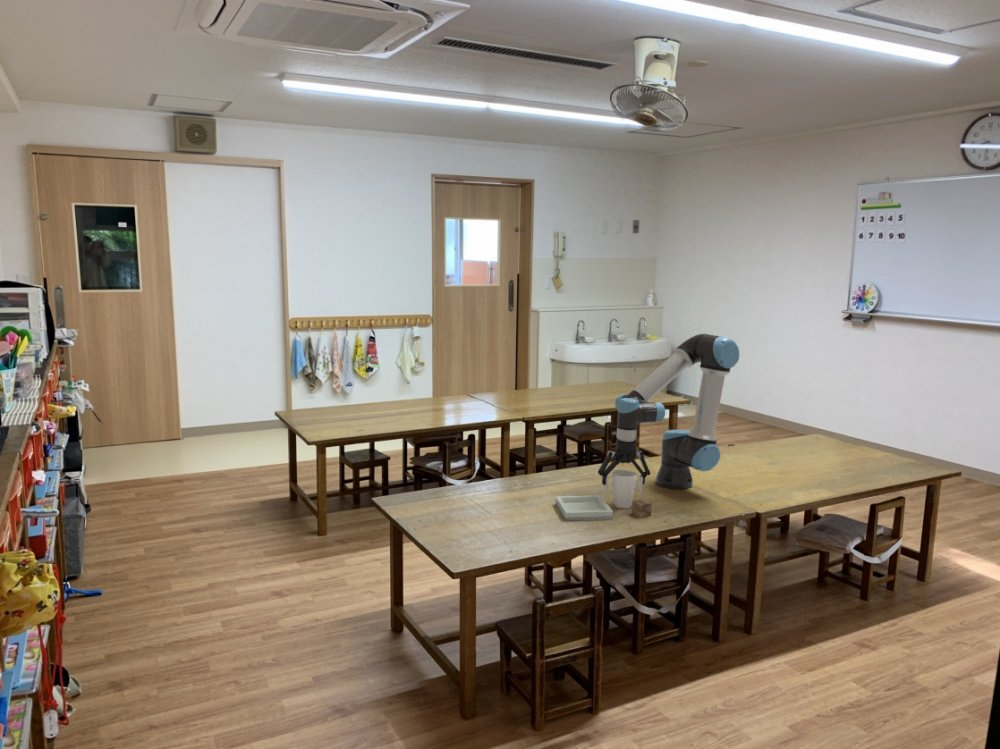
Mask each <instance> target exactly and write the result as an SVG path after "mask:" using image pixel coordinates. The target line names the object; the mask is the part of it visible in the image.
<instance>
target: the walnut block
mask: <svg viewBox="0 0 1000 749" xmlns="http://www.w3.org/2000/svg"><path fill="white" fill-rule="evenodd" d="M652 504H653V503H652V502H650V501H648V500H647V499H644V498H641V499H636V500H632V504H631V514H632V515H633V516H634V515H635V516H636V517H638V518H640V519H641V518H646V517H647V518H648V517H650V516H652Z"/></svg>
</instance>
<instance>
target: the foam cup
mask: <svg viewBox="0 0 1000 749" xmlns="http://www.w3.org/2000/svg"><path fill="white" fill-rule="evenodd" d="M611 479H612V491H613V503H614V506H615V507H616V508H619V509H630V508H632V501H633V498H634V494H635V488H636V482H637V480H638V473H637V472H636V471H633V470H631V469H630V470H629V469H622V468H621V469H616V470H615V469H614V470H612V471H611Z"/></svg>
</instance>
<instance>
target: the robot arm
mask: <svg viewBox="0 0 1000 749" xmlns="http://www.w3.org/2000/svg"><path fill="white" fill-rule="evenodd" d="M739 359H740V348H739V345H737V343H736V341H735V340H733V339H732V338H729V337H726V336H721V335H720V336H719V335H713V334H708V333H700V334H699V333H698V334H696V335H693V336H691V337H689V338H688V339H686V340H684V341H683V342H682V343H680V345H678V346H677V347H675V349H674V350H673V353H672V354H671V355H670V357H668V358H667V359H666V360H665V361H664V362H663V363H662V364H661V365H659V366H658V367H657V368H656V369H655V370H654V371H653V372H651V373H650V375H648V376H647V377H646V378H645V379H644V380H642V381H641V382H640V383H639V384H638V385H637V386H636V387H634V389H632V390H631V391H630V392H629V393H627V394H626V393H625V394H624V393H623V394H620V395H618V396H617V397H616V399H615V402H614V403H615V405H614V406H615V409H616V410H617V425H616V426H617V428H616V441H615V451H611V450H607V452H606V456H605V458H604V460H603V461H602V463H601V465H600V467H599V469H598V471H597V474H598V475H599V476H601V484H602V485H603V492H604V494H605V495H608V491H609V479H610V478H609V475H610V473H612V472H613V471H614V470H615V468H616V467H617V466H618V465H620V464H630V463H632V465H633V466H634V467H635V468H636V470H637V471H638V473H639V474H638V479H637V480H638V484H637V492H638V493H639V494H642V493H643V485H645V483H646V478H647V476H650V475H651V471H650V469H649V467H648V464H647V462H646V460H645V457H644V456H645V454H644V452H643V451H642V450H638V451H636V449H637V440H636V439H637V438H638V437H637V436H638V434H637V432H638V424H643V423H646V424H647V423H656V422H660V421H661V422H662V421H663V420H664V418H665V417H666V408H665V406H664V404H663V403H661V402H660V401H653V402H651V400H652V399H653V398H654V397H656V395H658V393H659V392H661V390H663V389H664V388H665V387H667V385H669V384H670V383H671V382H672V381H673V380H674V379H675V378H676V377H677V376H679V375H680V374H681V373H682V372H683V371H684V370H685V369H686V368H691V367H693V365H695V364H697V363H700V364H699V369H701V371H702V376H701V381H700V387H699V392H698V396H697V403H696V408H695V413H694V418H693V424H692V425H693V426H692V430H689V429H687V430H686V429H668V430H666V431H664V432H663V434H662V443H661V444H662V445H661V446H662V447H661V459H660V460H661V463H660V466H659V469H658V472H657V473H656V477H655V484H657V485H659V486H660V487H664V488H667V489H674V490H685V489H690V488H691V487H693V484H694V483H693V479H694V478H693V477H692V476H693V475H692V473H691V468H692V469H693V470H696V471H700V472H709V471H711V470H712V469H714V467H716V466H717V465H718V464H719V461H720V459H721V451H720V450H721V449H720V448H719V447H718V446H717V441H718V439H717V437H716V435H715V431H716V425H717V420H718V416H719V409H720V404H721V401H722V400H721V398H722V393H723V389H724V382H725V378H726V375H728V374H730V372H731V369H732V368H733V367H735V366H736V364H738V362H739ZM614 456H615V458H614V459H613V461H612V462H611V463H610V461H611V460H612V458H613V457H614ZM636 456H637V457H638V458H639V461H640V463H641V465H642V468H643V469H642V468H641V467H640V465H639V463H637V461H636V460H635V458H636ZM690 467H691V468H690Z"/></svg>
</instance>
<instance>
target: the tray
mask: <svg viewBox="0 0 1000 749" xmlns="http://www.w3.org/2000/svg"><path fill="white" fill-rule="evenodd" d="M554 504H555V505H556V507H557V509H558V511H559V513H560V514H561V515H562V517H563V519H564V521H566V522H569V521H570V522H571V521H596V520H597V521H598V520H599V521H600V520H601V521H602V520H603V521H604V520H613V519H614V510H613V509H611V507H610V506H609V504H608V503H607V502H606V501H605V499H604V498H603V497H602V496H601V495H599V494H598V495H597V494H595V495H570V496H568V495H565V496H564V495H563V496H560V495H559V496H555V503H554Z"/></svg>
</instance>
